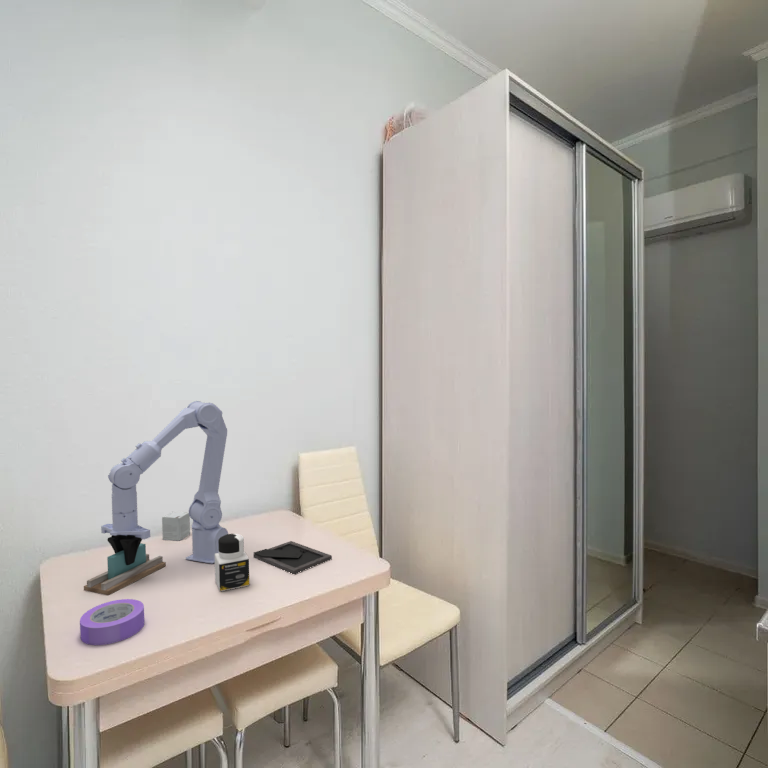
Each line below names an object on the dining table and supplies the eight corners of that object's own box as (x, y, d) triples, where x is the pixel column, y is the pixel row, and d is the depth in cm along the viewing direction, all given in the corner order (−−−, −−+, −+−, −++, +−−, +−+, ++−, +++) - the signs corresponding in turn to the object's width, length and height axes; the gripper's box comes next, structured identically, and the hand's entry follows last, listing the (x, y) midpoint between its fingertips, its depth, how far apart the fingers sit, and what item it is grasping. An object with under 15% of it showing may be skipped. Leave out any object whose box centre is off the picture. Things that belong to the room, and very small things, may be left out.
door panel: (146, 566, 133) (145, 544, 132) (114, 581, 123) (113, 557, 123) (140, 565, 133) (139, 543, 133) (108, 580, 124) (107, 556, 124)
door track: (165, 565, 135) (165, 556, 135) (108, 595, 118) (108, 584, 118) (143, 562, 138) (142, 553, 138) (83, 590, 121) (83, 580, 121)
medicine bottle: (219, 592, 119) (218, 543, 119) (214, 581, 125) (213, 534, 125) (249, 586, 122) (248, 538, 122) (243, 575, 129) (242, 529, 128)
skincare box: (173, 533, 161) (172, 511, 161) (190, 534, 160) (190, 511, 160) (162, 540, 155) (161, 516, 155) (180, 541, 154) (179, 517, 154)
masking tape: (83, 653, 95) (82, 633, 95) (77, 627, 104) (77, 609, 104) (149, 633, 102) (149, 614, 101) (139, 610, 111) (138, 593, 111)
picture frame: (253, 559, 140) (294, 576, 129) (253, 552, 140) (293, 569, 129) (291, 546, 150) (331, 561, 139) (290, 539, 150) (331, 554, 139)
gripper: (90, 512, 126) (91, 565, 127) (133, 518, 121) (135, 573, 122) (113, 505, 133) (115, 555, 133) (156, 510, 128) (157, 562, 128)
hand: (126, 563), depth 128 cm, fingers closed on door panel, 2 cm apart
